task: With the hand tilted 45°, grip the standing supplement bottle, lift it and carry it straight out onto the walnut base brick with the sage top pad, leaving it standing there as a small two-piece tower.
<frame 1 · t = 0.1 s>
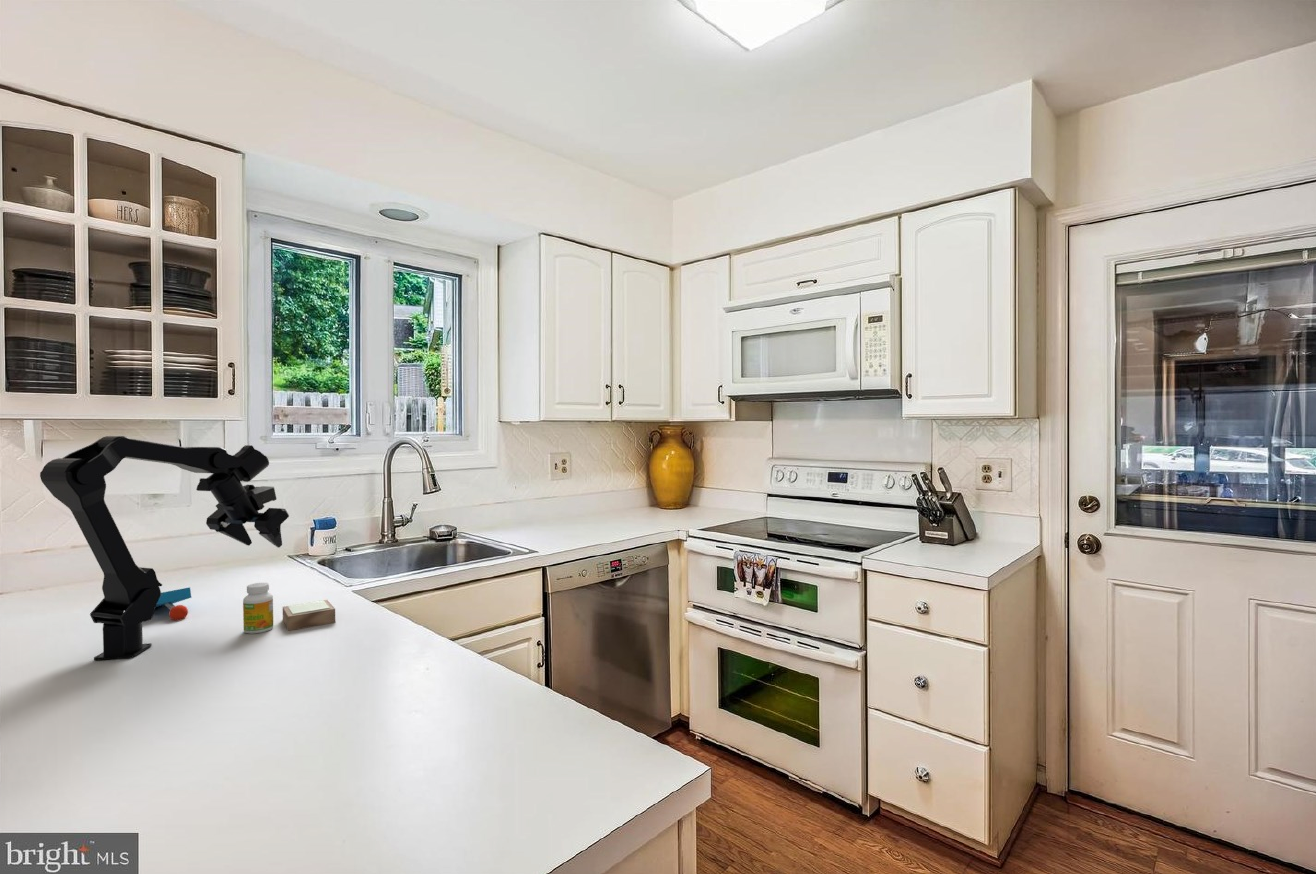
hand: (265, 545, 150), 15 cm above the counter, tool tilted 35°, fingers open, 9 cm apart
base brick: (308, 621, 139), on the counter
supplement bottle: (258, 631, 134), on the counter
lever: (165, 615, 146), on the counter
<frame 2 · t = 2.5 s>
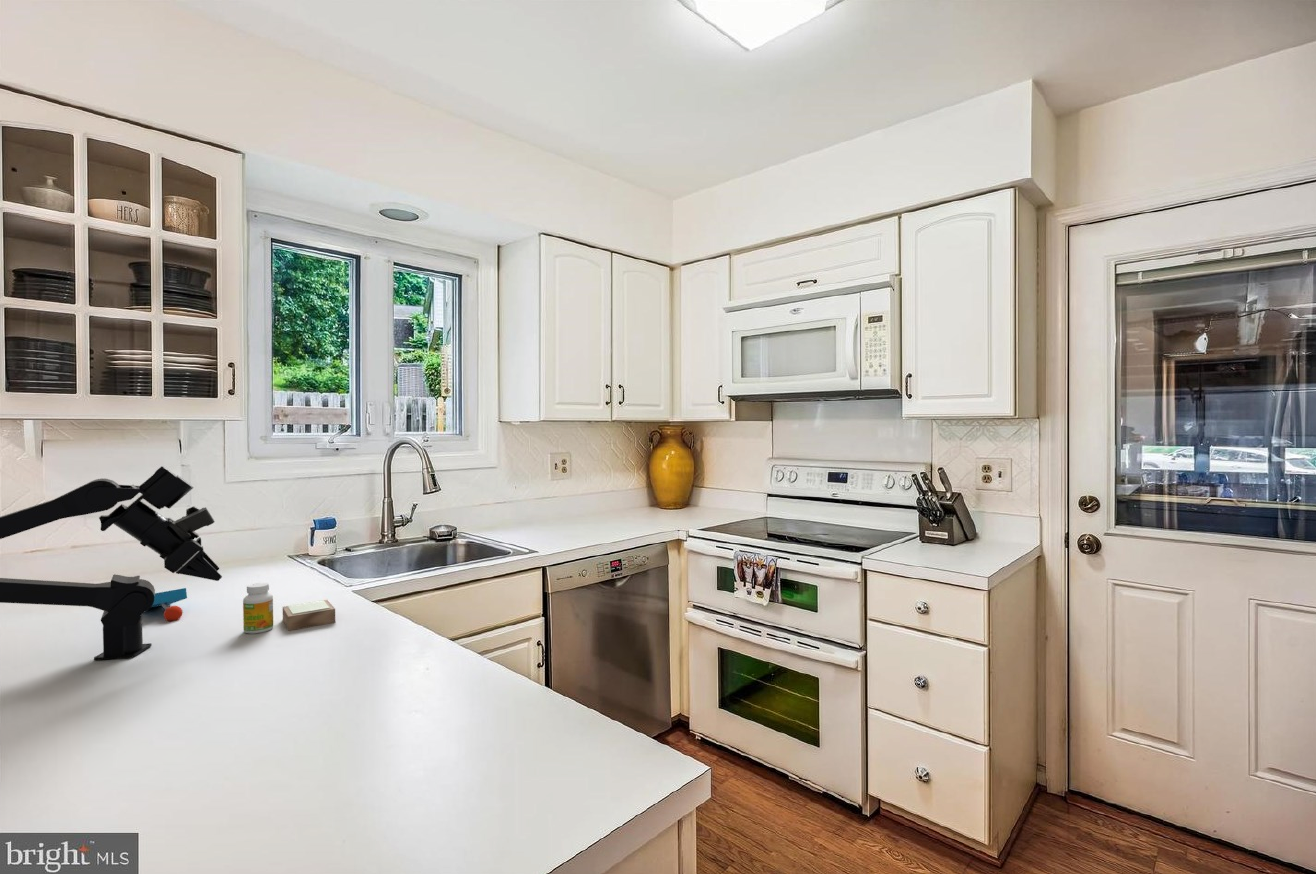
hand: (218, 574, 129), 13 cm above the counter, tool tilted 45°, fingers open, 9 cm apart
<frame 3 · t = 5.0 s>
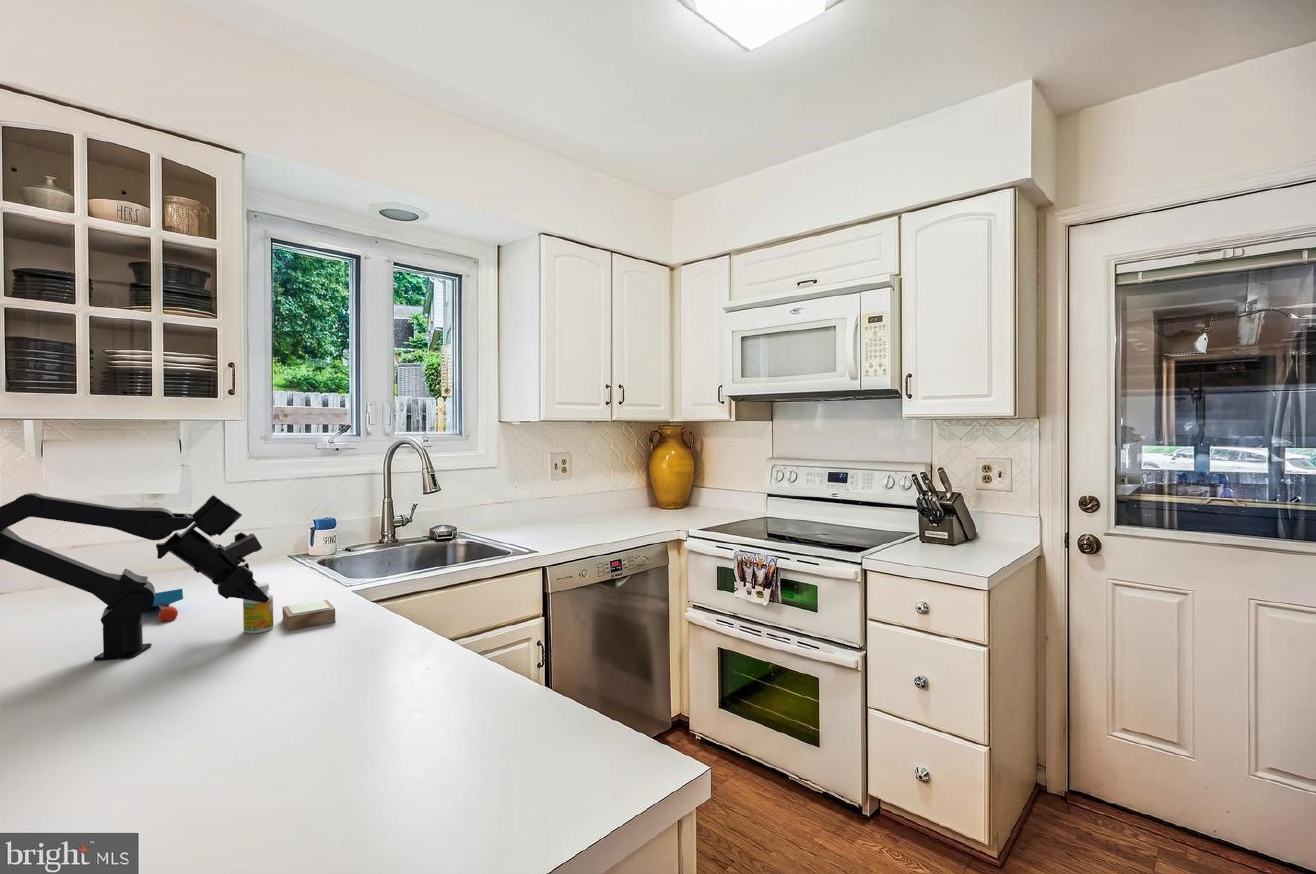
hand: (265, 598, 134), 7 cm above the counter, tool tilted 45°, fingers closed on supplement bottle, 5 cm apart
supplement bottle: (258, 630, 134), on the counter, touching gripper
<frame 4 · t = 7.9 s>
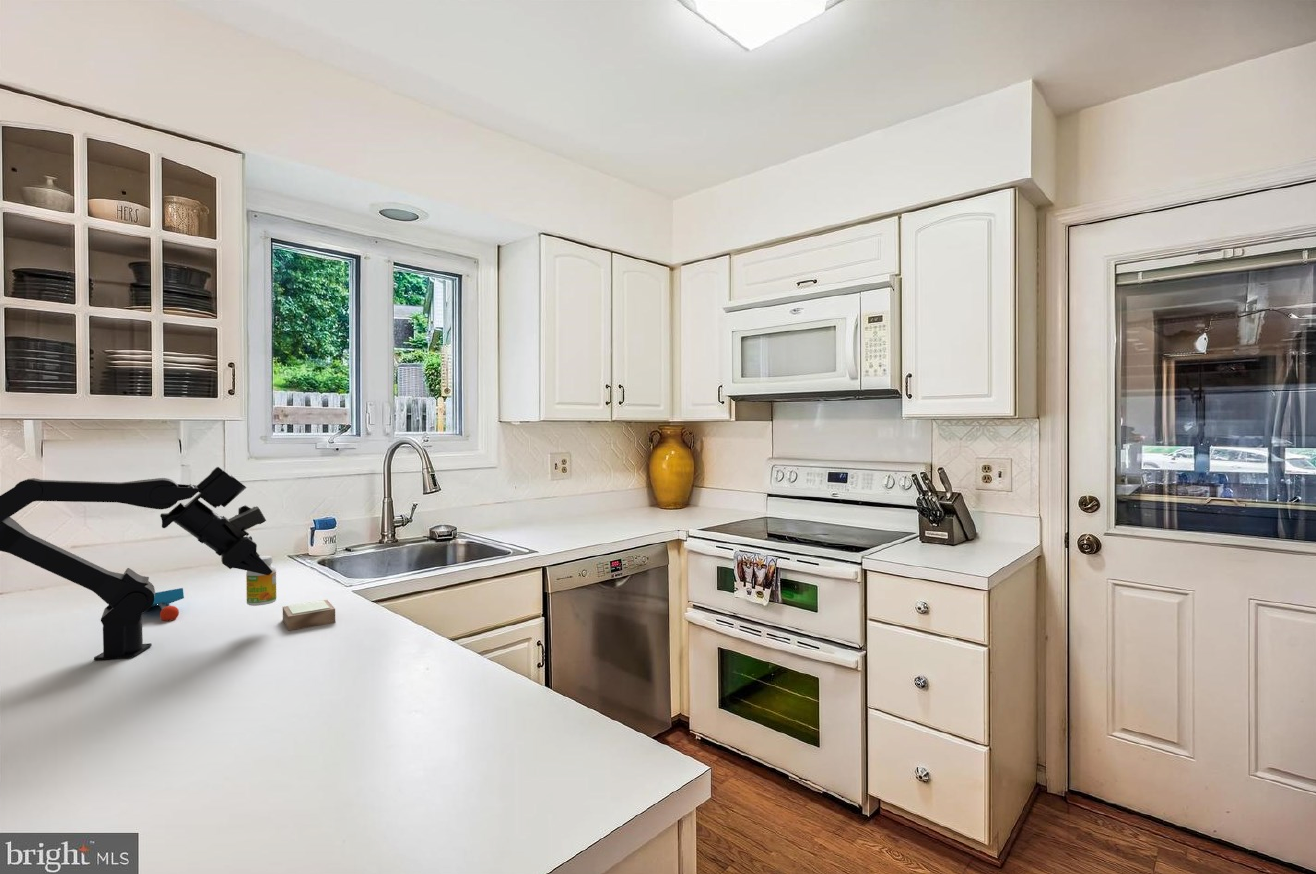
hand: (269, 570, 135), 12 cm above the counter, tool tilted 45°, fingers closed on supplement bottle, 5 cm apart
supplement bottle: (261, 603, 134), point 6 cm above the counter, touching gripper
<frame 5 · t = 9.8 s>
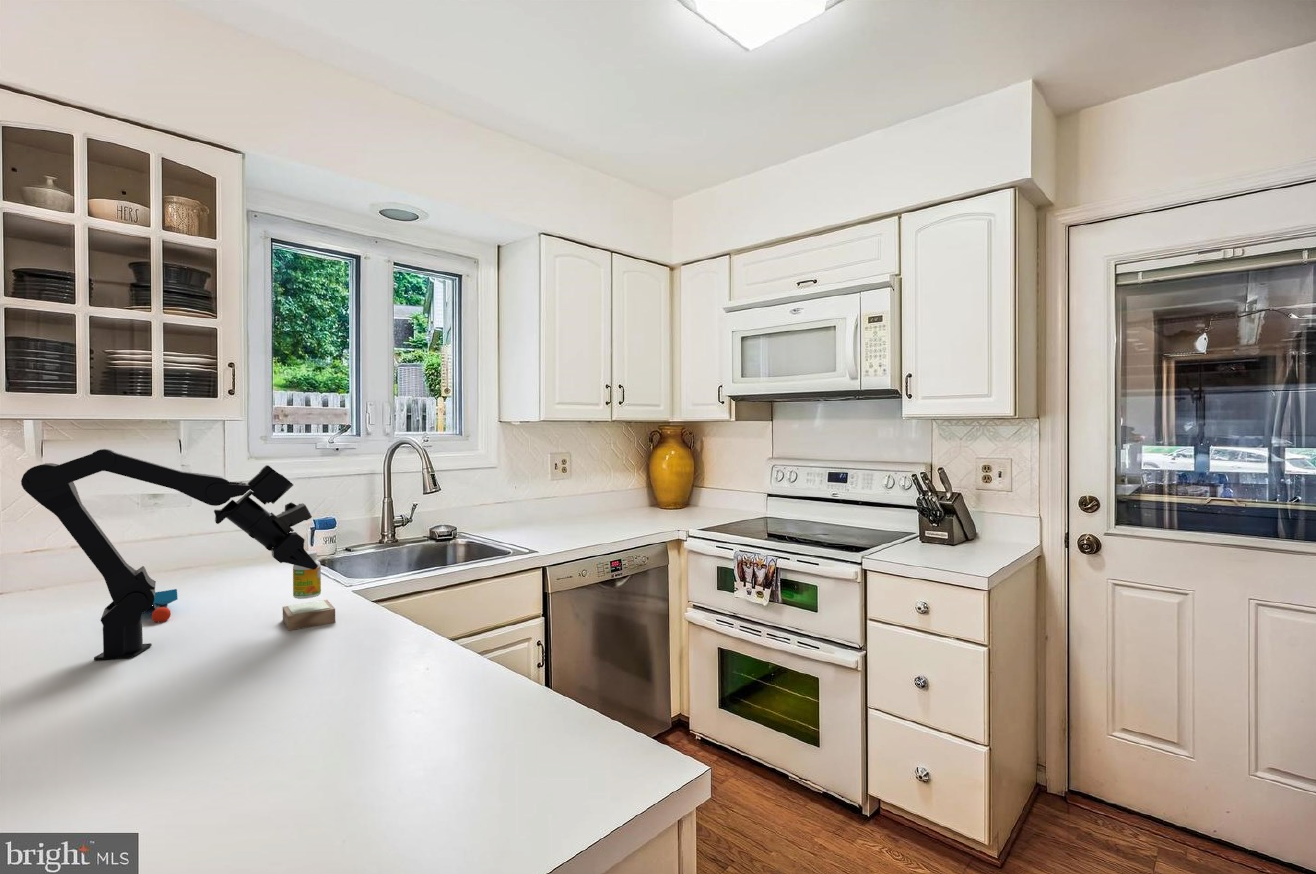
hand: (314, 565, 140), 12 cm above the counter, tool tilted 45°, fingers closed on supplement bottle, 5 cm apart
supplement bottle: (307, 596, 139), point 5 cm above the counter, touching gripper
when the fingers open (11 cm above the counter, at t = 10.9 s): supplement bottle drops 1 cm, resting on base brick.
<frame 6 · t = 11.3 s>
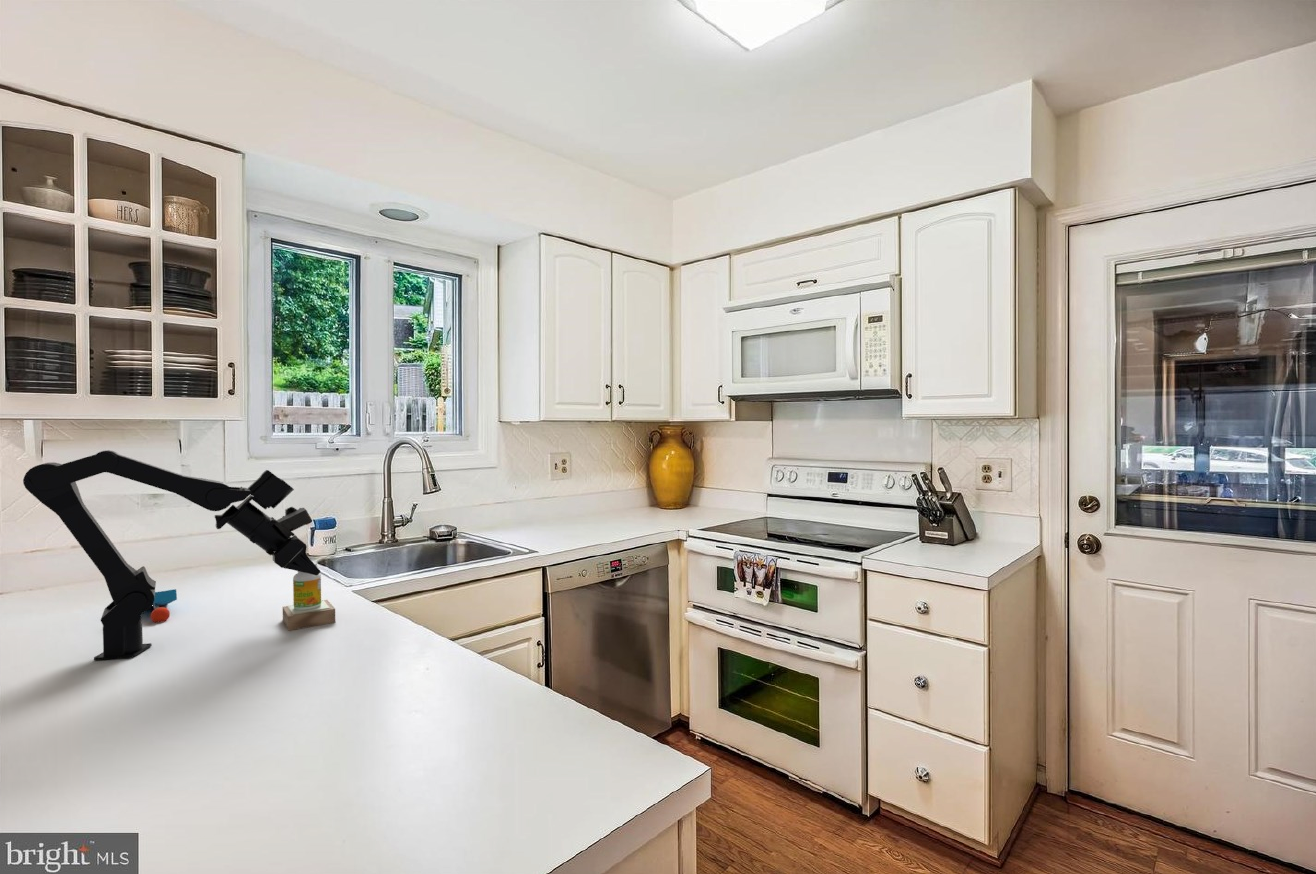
hand: (315, 569, 140), 11 cm above the counter, tool tilted 45°, fingers open, 9 cm apart
supplement bottle: (307, 607, 139), point 3 cm above the counter, touching base brick
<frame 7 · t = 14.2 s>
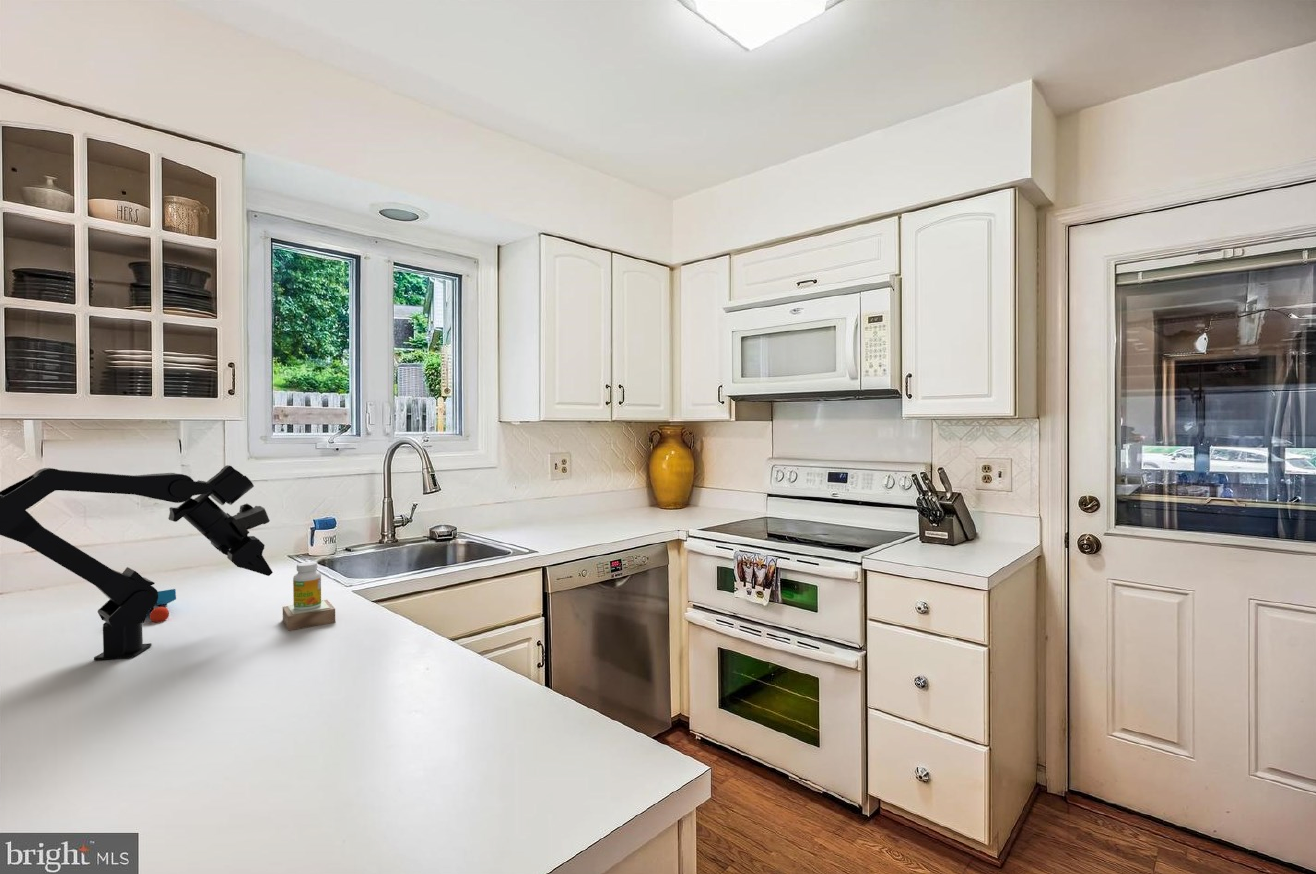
hand: (264, 569, 139), 12 cm above the counter, tool tilted 40°, fingers open, 9 cm apart
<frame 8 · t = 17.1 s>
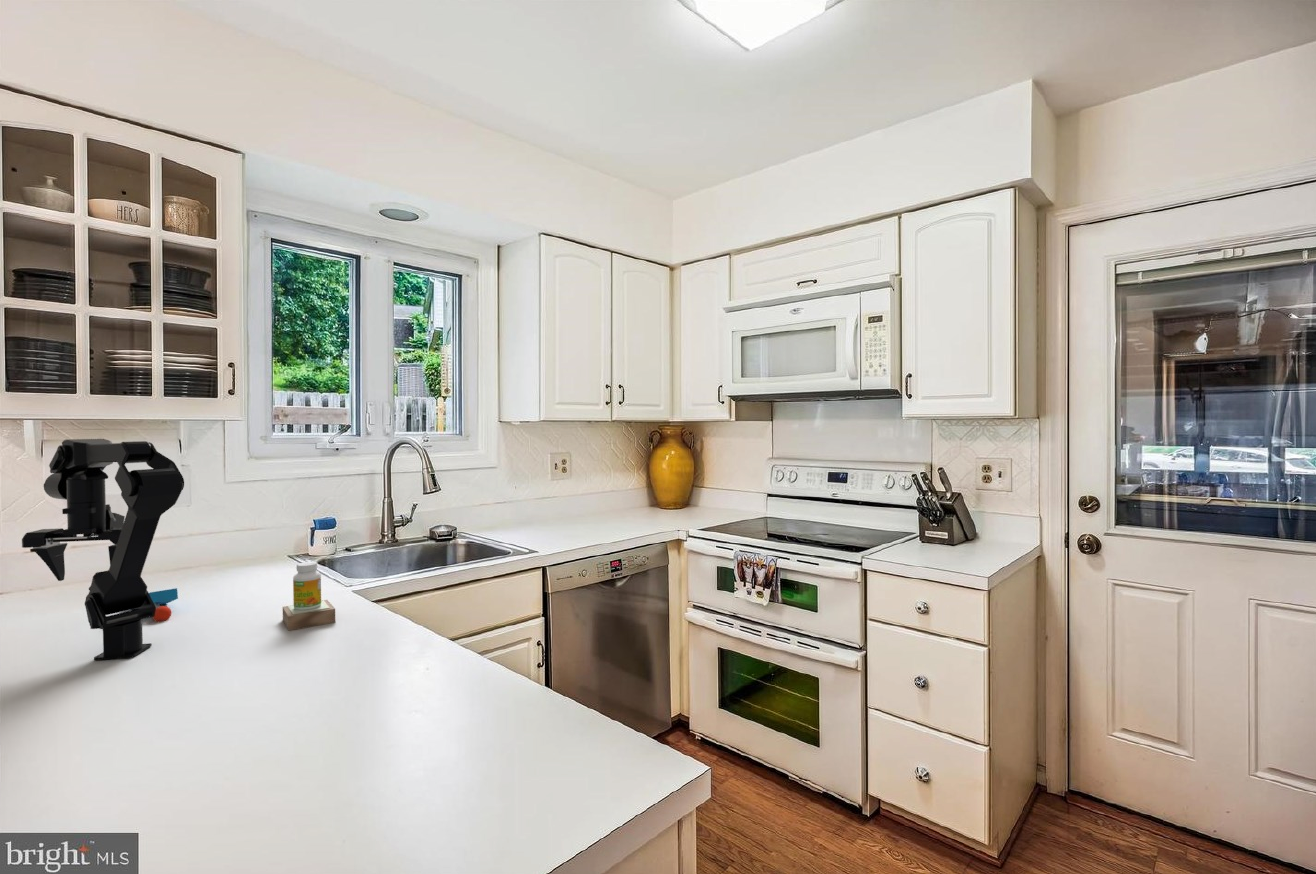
hand: (88, 579, 125), 13 cm above the counter, tool pointing down, fingers open, 9 cm apart
at the end: supplement bottle 0.2 cm off-centre on the base brick, point 3.0 cm above the base brick's base; supplement bottle tilted 0°; the gripper is holding nothing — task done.
